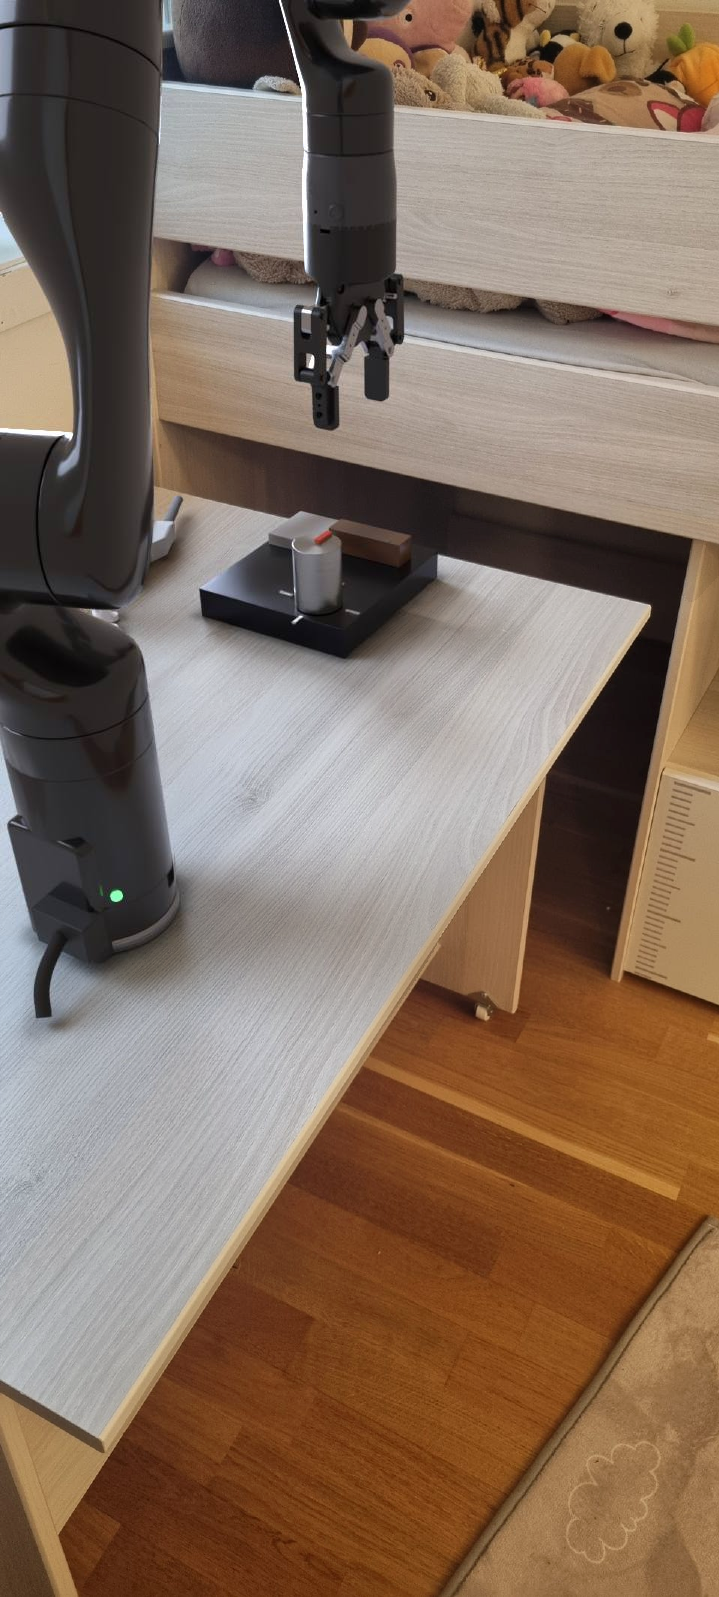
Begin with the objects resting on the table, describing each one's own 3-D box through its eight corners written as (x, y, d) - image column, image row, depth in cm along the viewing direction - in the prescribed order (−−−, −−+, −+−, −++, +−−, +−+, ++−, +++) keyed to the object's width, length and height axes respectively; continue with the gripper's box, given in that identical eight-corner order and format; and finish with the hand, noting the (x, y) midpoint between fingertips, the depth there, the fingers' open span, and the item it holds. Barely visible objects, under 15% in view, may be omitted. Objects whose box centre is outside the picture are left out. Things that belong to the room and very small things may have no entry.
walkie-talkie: (153, 595, 118) (190, 509, 134) (148, 554, 115) (186, 471, 131) (66, 593, 118) (112, 508, 134) (58, 552, 116) (107, 470, 131)
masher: (420, 550, 118) (420, 528, 117) (390, 575, 114) (390, 552, 113) (301, 521, 124) (300, 499, 122) (268, 543, 120) (267, 521, 118)
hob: (337, 665, 107) (336, 634, 105) (193, 622, 114) (190, 592, 112) (437, 577, 120) (438, 548, 118) (303, 543, 127) (302, 515, 125)
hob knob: (326, 619, 108) (324, 555, 104) (285, 607, 109) (282, 544, 105) (351, 598, 110) (350, 535, 107) (311, 587, 112) (309, 525, 108)
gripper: (355, 192, 102) (357, 384, 112) (260, 223, 92) (271, 430, 102) (433, 200, 99) (428, 397, 109) (343, 234, 89) (346, 446, 99)
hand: (352, 413), depth 105 cm, fingers open, 8 cm apart
